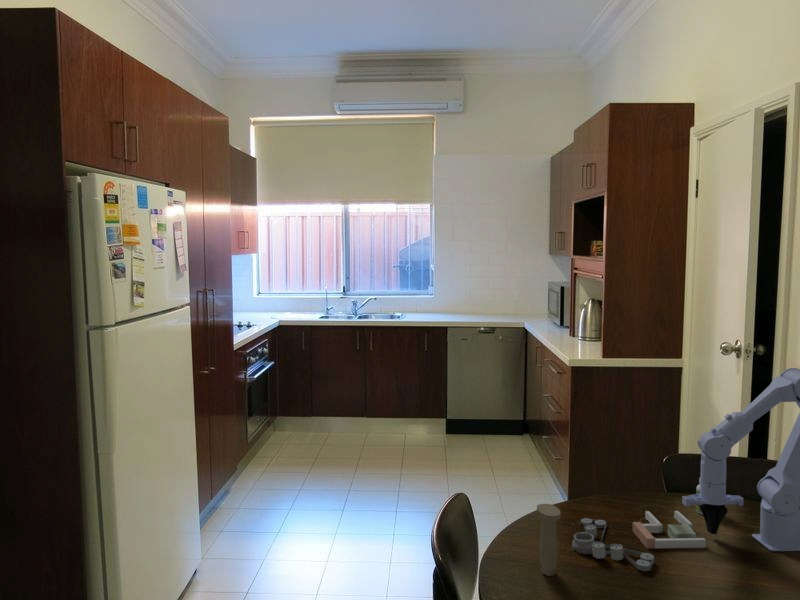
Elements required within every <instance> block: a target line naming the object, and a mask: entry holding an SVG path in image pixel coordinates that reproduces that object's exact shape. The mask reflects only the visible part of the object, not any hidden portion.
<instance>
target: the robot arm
mask: <svg viewBox="0 0 800 600" xmlns="http://www.w3.org/2000/svg"><path fill="white" fill-rule="evenodd" d="M793 402H794V403H795V404H796V405H797V406H798V408H799V409H800V368H797V367H793V368H792V367H791V368H790V367H789V368H787V369H785V370H783V371H782V372H781V373H780V375H777V376H776V377H774V378H773V379H772V381H771V382H770V384H769V385H768V386H767V387H766V388H765V389H764V390H763V391H762V392H761V393H760V394H759V395H758V396H757V397H755V398H754V400H753V401H752V402H750V403H749V404H748V405H747V406H746V407H745V408H744V409H743V410H742V411H733V412H731V413H727V414H726V415H724V419H723V420H722V421H721V422H720V423H719V424H718V425H716V426H715V427H711V428H710V429H709V430H710V431H708V432H707V431H706V432H704V433H703V434H702V435H700V437H699V440H697V446H698V447H699V449H700V450H701V452H700V453H701V455H700V457H701V458H700V477H699V478H700V483H699V484H700V494H696V493H695V494H690V495H682V496H681V497H682V498H681V503H682V504H683V506H685V507H690V506H696V505H699V507H700V509H701V511H702V513H703V515H702V516H703V518H704V520H705V521H704V522H705V526H706V531H707V532H708V533H709V534H710V535H717V533H718V531H719V527H720V525H721V523H722V520H723V519H724V517H726V515H727V514H728V511H729V510H728V508H727V507H726V506H739V507H743V506H744V500H745V498H744V497H742V496H741V495H734V494H733V495H732V494H727V493H726V492H727V458H729V457H730V455H731V453H732V448H733V447H734V446H735V445H736V444H738V443H739V442H740V441H741V440H743V438H745V437H746V436H747V435H749V433H751V432H752V431H753V430H754V423H755V422H756V421H757V420H758V419H760V418H761V417H763V416H765V414H767V412H769V411H770V410H772V409H773V408H775V407H776V406H777V405H779V404H780V403H793ZM756 488H757V489H756V490H757V493H758V495H759V496H760V497H761V501H760V518H759V519H760V522H759V533H753V534H751V537H752V538H754V539H755V540H756V541H757V542H759V543H760V544H761V545H762V546H763V547H765V548H766V549H768V551H770V552H800V412H799V413H798V415H797V418H796V419H795V422H794V424H793V426H792V428H791V431H790V433H789V435H788V437H787V440H786V442H785V445H784V447H783V449H782V452H781V454H780V456H779V458H778V460H777V463H776V465H775V466H774V467H772V468H770V469H769V470H768V471H767V473H766V475H765V476H764V477H762V478H761V479H760V480H759V481H758V483H757V485H756Z"/></svg>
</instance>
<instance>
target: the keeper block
mask: <svg viewBox="0 0 800 600" xmlns="http://www.w3.org/2000/svg"><path fill="white" fill-rule="evenodd" d="M667 536H668V537H669V538H697V533H696V532H695V531H694V530H693V529H691V528H690V527H689V526H688V525H681V524H671V523H670V524H667Z"/></svg>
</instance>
